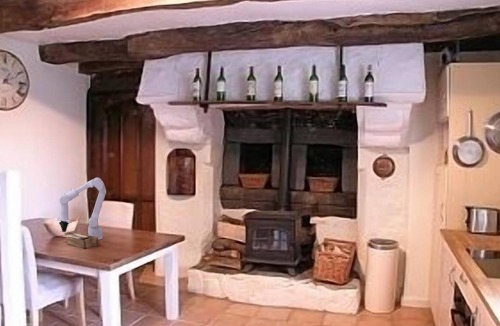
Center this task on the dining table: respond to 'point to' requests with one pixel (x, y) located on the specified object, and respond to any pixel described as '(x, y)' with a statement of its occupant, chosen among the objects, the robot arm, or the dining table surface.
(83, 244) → the keepsake box
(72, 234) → the lid
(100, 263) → the dining table surface
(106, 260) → the dining table surface
